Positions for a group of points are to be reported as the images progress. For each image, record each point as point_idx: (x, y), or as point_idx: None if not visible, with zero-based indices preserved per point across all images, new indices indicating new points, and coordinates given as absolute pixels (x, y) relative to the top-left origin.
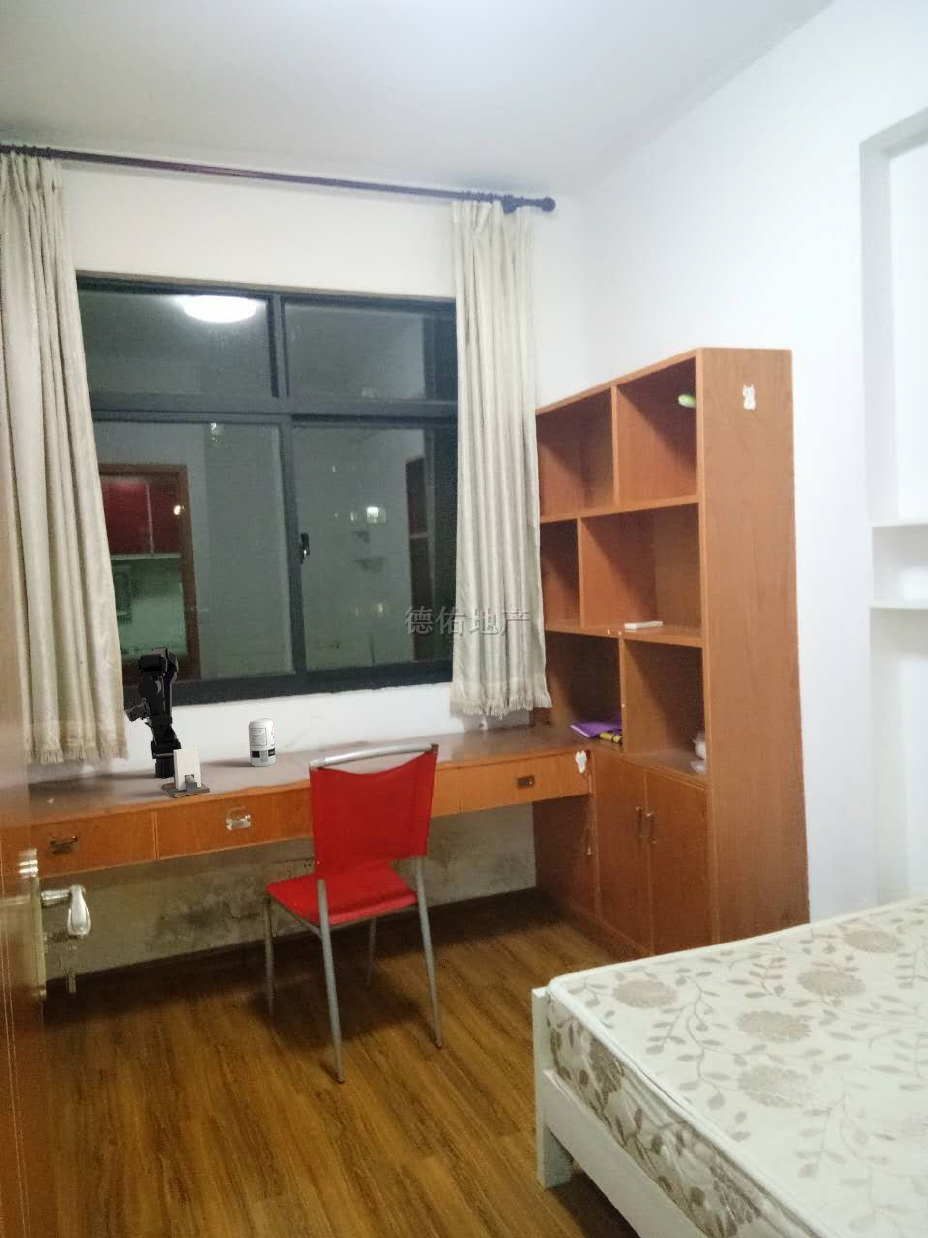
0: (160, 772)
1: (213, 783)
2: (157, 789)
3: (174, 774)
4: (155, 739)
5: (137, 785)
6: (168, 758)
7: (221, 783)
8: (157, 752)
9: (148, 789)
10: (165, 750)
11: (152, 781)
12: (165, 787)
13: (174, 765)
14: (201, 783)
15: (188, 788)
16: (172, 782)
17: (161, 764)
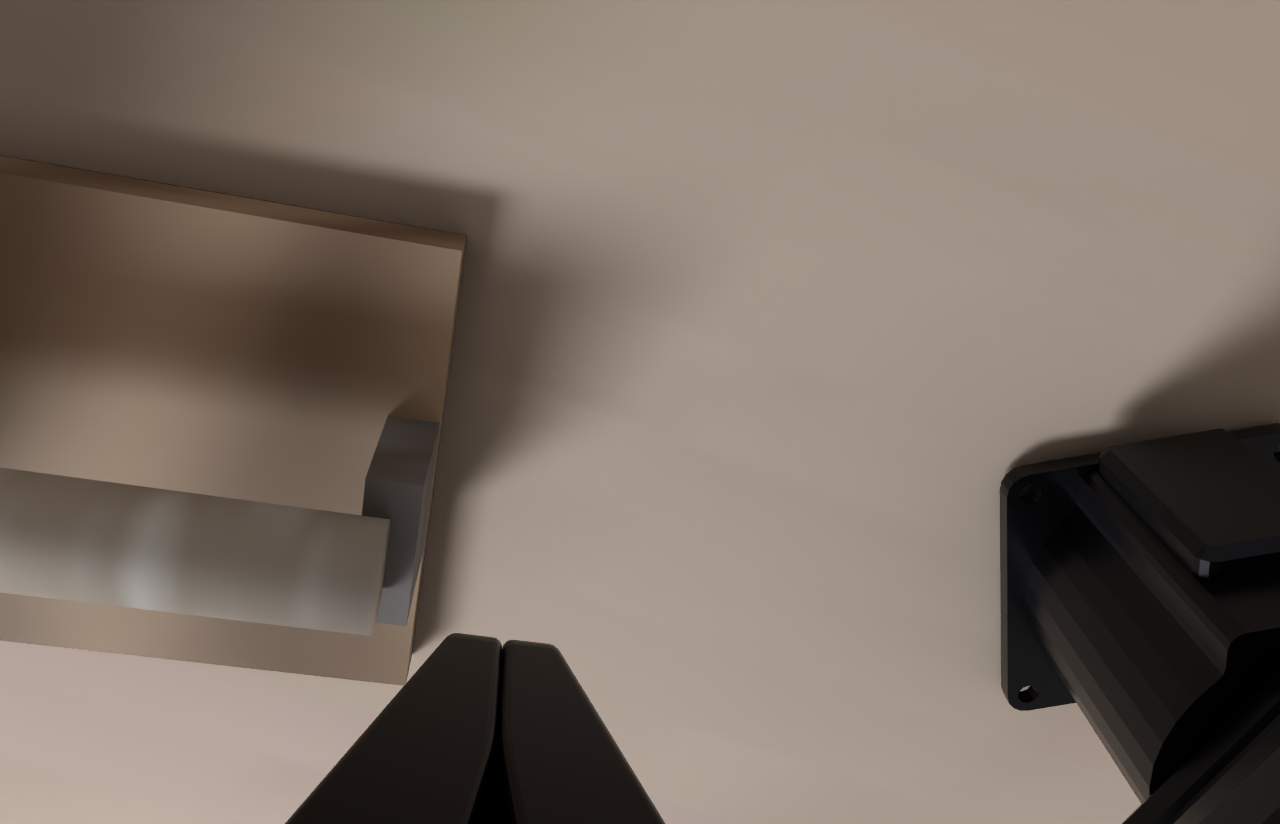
0: (1123, 486)
1: (134, 758)
2: (398, 122)
3: (385, 487)
4: (329, 786)
5: (1009, 10)
6: (1161, 738)
7: (54, 812)
8: None
9: (530, 16)
10: (1200, 819)
11: (1036, 292)
12: (229, 207)
13: (1087, 717)
14: (9, 635)
15: None
16: (439, 398)
17: (1179, 579)
